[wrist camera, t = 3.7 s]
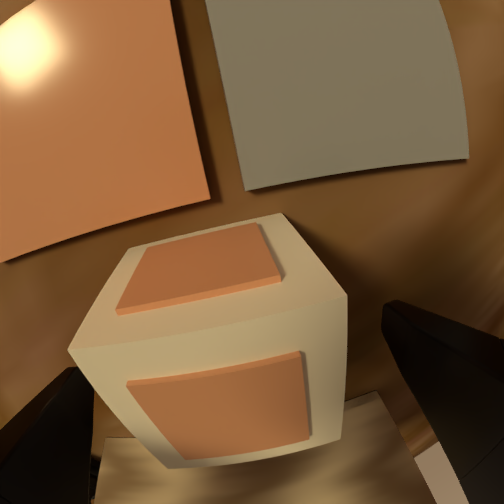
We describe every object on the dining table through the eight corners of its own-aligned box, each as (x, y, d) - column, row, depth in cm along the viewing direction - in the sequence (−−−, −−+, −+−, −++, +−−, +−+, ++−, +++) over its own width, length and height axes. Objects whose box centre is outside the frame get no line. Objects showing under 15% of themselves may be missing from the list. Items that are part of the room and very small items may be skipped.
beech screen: (376, 390, 13) (437, 505, 6) (368, 424, 15) (413, 520, 8) (105, 437, 13) (89, 549, 5) (135, 464, 14) (130, 560, 7)
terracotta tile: (162, -47, 5) (161, -53, 4) (210, 195, 8) (210, 199, 8) (-35, 62, 4) (-41, 61, 4) (0, 260, 8) (-5, 264, 8)
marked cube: (280, 207, 9) (350, 292, 4) (298, 334, 11) (342, 442, 6) (128, 243, 9) (60, 348, 4) (176, 359, 11) (167, 473, 6)
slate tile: (417, -35, 5) (422, -38, 5) (462, 156, 9) (469, 158, 8) (192, -54, 5) (192, -59, 4) (243, 188, 8) (245, 190, 8)
